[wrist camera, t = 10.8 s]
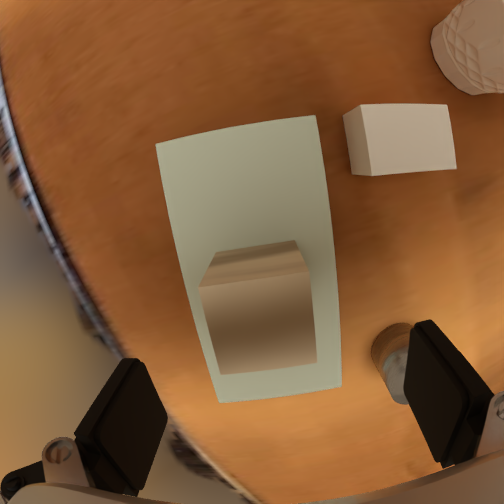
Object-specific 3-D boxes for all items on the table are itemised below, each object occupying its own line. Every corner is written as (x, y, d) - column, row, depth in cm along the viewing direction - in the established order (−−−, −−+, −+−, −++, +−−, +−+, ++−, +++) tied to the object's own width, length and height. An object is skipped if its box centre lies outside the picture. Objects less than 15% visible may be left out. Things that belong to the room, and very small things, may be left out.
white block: (341, 116, 18) (360, 104, 14) (418, 113, 18) (447, 104, 14) (351, 174, 19) (371, 176, 15) (426, 167, 19) (456, 168, 15)
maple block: (215, 252, 20) (197, 287, 14) (294, 240, 19) (309, 271, 13) (230, 321, 21) (220, 375, 15) (303, 311, 20) (317, 362, 15)
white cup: (502, 108, 17) (586, 100, 7) (434, 96, 17) (526, 69, 8) (482, 28, 15) (552, -4, 5) (412, 8, 15) (478, -50, 6)
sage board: (161, 145, 19) (155, 144, 18) (312, 118, 18) (315, 115, 17) (220, 393, 24) (219, 402, 23) (338, 377, 23) (341, 386, 22)
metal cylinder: (371, 329, 22) (393, 365, 17) (419, 317, 22) (448, 348, 17) (370, 372, 23) (388, 410, 18) (415, 360, 23) (439, 394, 18)
